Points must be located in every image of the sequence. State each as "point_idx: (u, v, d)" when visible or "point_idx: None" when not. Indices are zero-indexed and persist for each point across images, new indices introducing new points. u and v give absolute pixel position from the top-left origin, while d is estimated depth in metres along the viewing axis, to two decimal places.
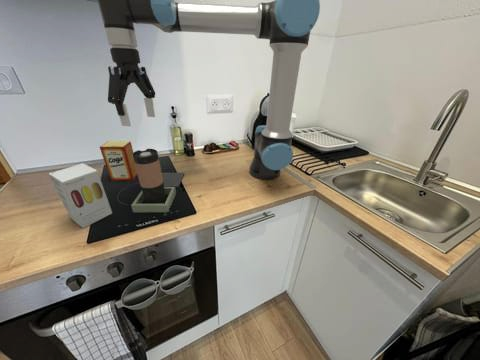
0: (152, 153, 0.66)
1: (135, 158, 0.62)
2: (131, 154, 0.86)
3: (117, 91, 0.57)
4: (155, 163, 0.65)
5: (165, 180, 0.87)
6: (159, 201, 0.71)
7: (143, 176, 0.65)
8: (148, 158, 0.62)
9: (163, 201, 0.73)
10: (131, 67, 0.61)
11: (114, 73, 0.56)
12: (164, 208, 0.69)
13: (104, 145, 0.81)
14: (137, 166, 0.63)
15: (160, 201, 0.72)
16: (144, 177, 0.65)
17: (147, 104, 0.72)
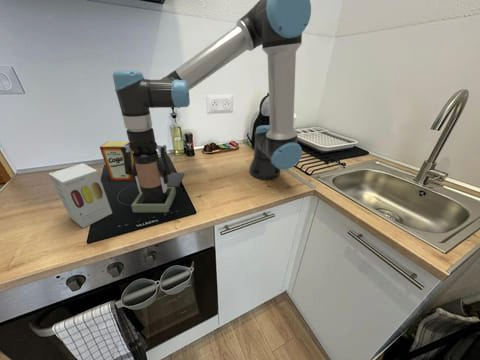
0: None
1: (135, 158, 0.62)
2: (131, 154, 0.86)
3: (126, 166, 0.65)
4: (155, 163, 0.65)
5: None
6: (159, 201, 0.71)
7: (143, 176, 0.65)
8: (148, 158, 0.62)
9: (163, 201, 0.73)
10: (141, 145, 0.62)
11: None
12: (164, 208, 0.69)
13: (104, 145, 0.81)
14: (137, 166, 0.63)
15: (160, 201, 0.72)
16: (144, 177, 0.65)
17: None
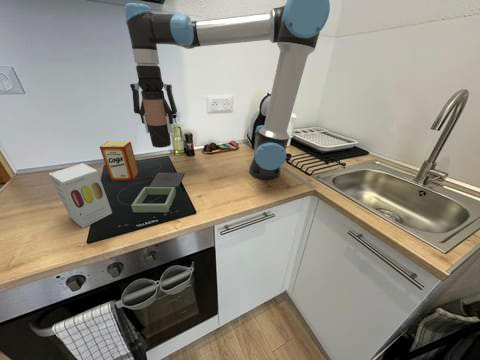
0: None
1: (143, 94, 0.68)
2: (131, 154, 0.86)
3: (135, 104, 0.71)
4: (161, 101, 0.70)
5: (165, 180, 0.87)
6: (165, 141, 0.77)
7: (150, 112, 0.70)
8: (155, 94, 0.68)
9: (168, 142, 0.79)
10: (149, 81, 0.68)
11: None
12: (164, 208, 0.69)
13: (104, 145, 0.81)
14: (145, 103, 0.69)
15: (166, 141, 0.77)
16: (152, 113, 0.71)
17: None
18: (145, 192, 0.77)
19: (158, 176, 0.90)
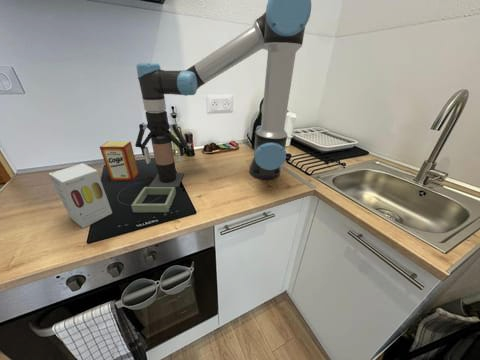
0: None
1: (153, 139, 0.76)
2: (131, 154, 0.86)
3: (138, 140, 0.78)
4: (169, 144, 0.79)
5: None
6: (171, 177, 0.85)
7: (158, 154, 0.79)
8: (163, 139, 0.76)
9: (174, 178, 0.87)
10: (157, 125, 0.75)
11: None
12: (164, 208, 0.69)
13: (104, 145, 0.81)
14: (154, 146, 0.77)
15: (172, 177, 0.85)
16: (160, 155, 0.79)
17: None
18: (145, 192, 0.77)
19: (158, 176, 0.90)
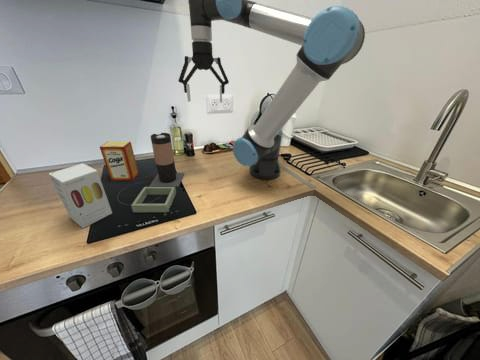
0: (166, 136, 0.80)
1: (153, 139, 0.76)
2: (131, 154, 0.86)
3: (182, 74, 0.78)
4: (168, 144, 0.79)
5: None
6: (171, 177, 0.85)
7: (158, 154, 0.79)
8: (163, 139, 0.76)
9: (174, 178, 0.87)
10: (202, 57, 0.76)
11: None
12: (164, 208, 0.69)
13: (104, 145, 0.81)
14: (154, 146, 0.77)
15: (172, 177, 0.85)
16: (160, 155, 0.79)
17: None
18: (145, 192, 0.77)
19: (158, 176, 0.90)
